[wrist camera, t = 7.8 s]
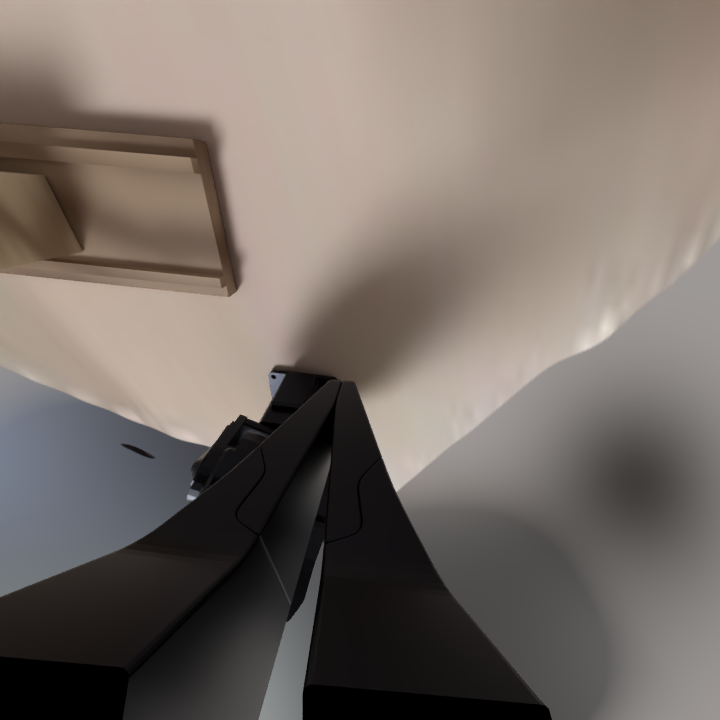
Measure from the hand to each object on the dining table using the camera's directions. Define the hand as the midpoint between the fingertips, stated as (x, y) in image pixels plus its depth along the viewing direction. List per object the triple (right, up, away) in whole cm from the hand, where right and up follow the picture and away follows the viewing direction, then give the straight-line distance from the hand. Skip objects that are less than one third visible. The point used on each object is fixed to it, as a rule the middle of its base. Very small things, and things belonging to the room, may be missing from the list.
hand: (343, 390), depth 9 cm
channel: (-20, +11, +9) cm, 25 cm away
